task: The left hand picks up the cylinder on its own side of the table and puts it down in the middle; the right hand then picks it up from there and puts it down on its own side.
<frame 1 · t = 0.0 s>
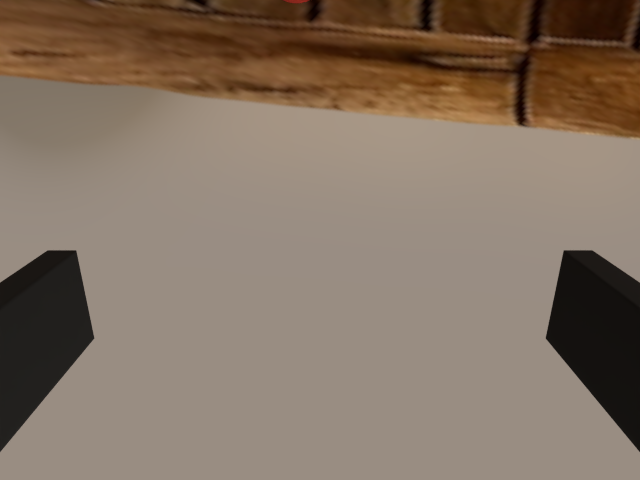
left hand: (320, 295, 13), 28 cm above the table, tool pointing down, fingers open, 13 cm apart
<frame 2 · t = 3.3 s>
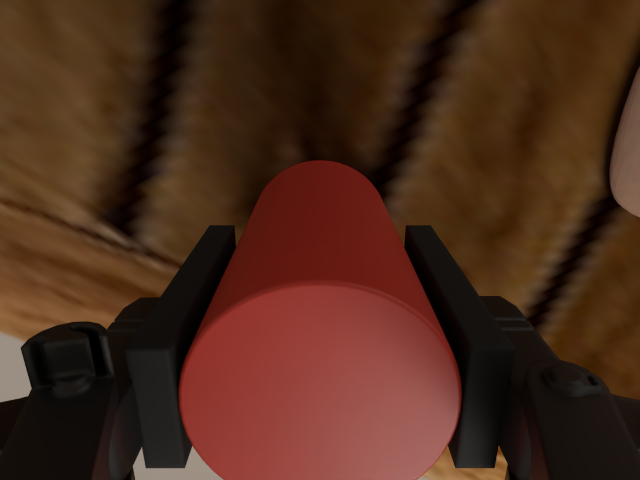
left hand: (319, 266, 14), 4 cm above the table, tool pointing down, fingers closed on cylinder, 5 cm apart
cylinder: (320, 226, 18), on the table, touching left hand
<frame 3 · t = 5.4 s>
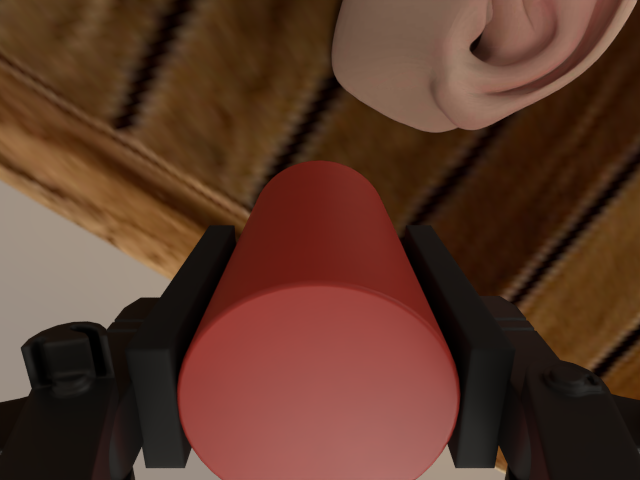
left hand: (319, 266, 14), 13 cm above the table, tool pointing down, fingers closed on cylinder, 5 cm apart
cylinder: (319, 226, 18), point 9 cm above the table, touching left hand
anatomical model: (464, 16, 23), on the table
when the left hand's fingers open (6 cm above the table, at t = 7.9 s): cylinder drops 2 cm, on the table.
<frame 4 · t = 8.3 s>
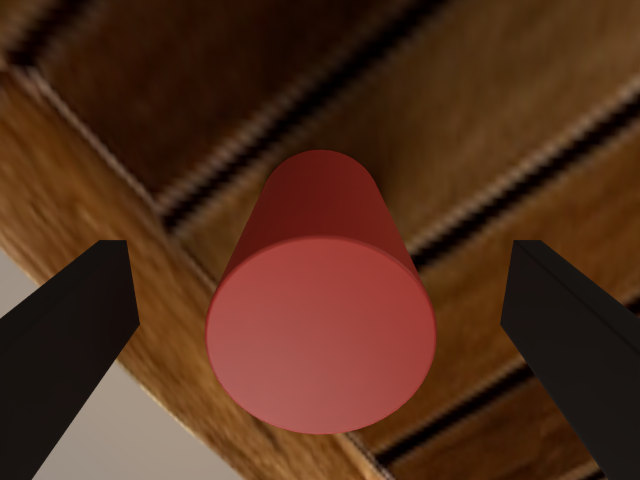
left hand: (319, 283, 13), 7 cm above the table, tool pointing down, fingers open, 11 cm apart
cylinder: (320, 209, 20), on the table
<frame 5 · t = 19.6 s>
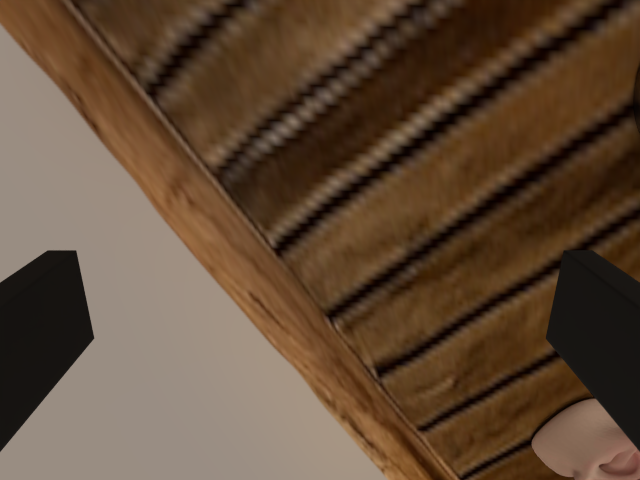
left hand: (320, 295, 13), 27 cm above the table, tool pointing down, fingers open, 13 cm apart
anatomical model: (596, 437, 49), on the table
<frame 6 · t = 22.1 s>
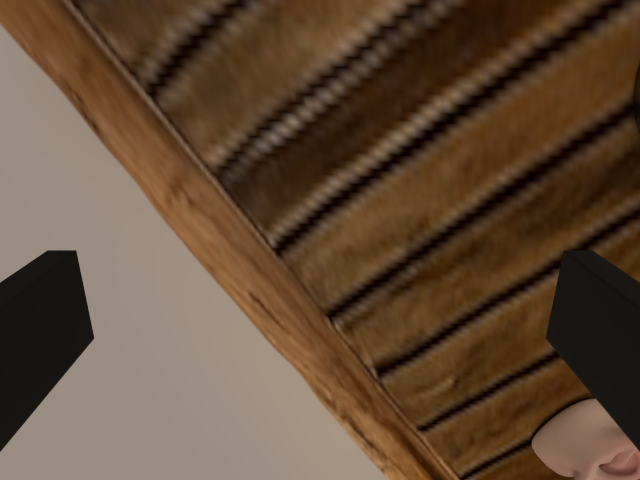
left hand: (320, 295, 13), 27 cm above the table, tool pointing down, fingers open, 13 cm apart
anatomical model: (596, 437, 49), on the table
when the right hand's fingers open (6 cm above the table, at t = 24.7 s): cylinder drops 2 cm, on the table.
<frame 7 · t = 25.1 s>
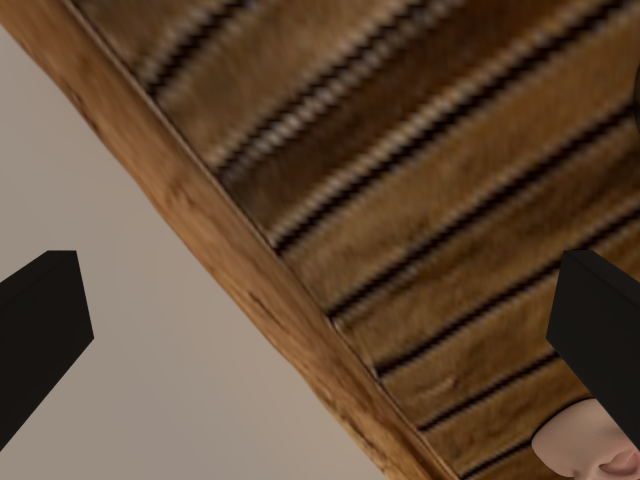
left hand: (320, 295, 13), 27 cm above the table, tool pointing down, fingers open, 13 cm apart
anatomical model: (596, 437, 49), on the table
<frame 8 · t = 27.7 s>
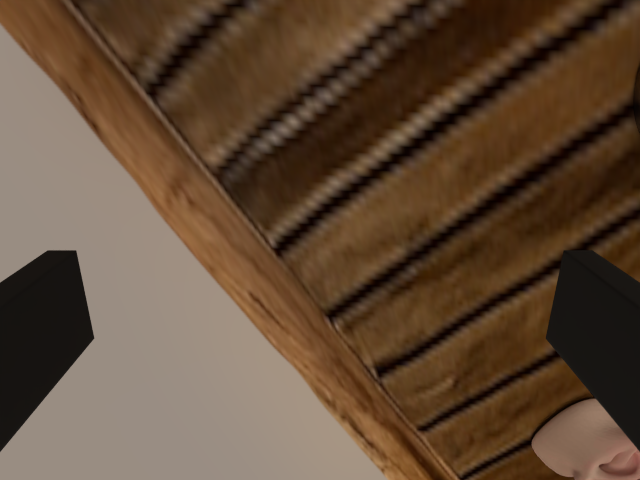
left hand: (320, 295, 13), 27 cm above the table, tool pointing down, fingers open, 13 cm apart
anatomical model: (596, 437, 49), on the table
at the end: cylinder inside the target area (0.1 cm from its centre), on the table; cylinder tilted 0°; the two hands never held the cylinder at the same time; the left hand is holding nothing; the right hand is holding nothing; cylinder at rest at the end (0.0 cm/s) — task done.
